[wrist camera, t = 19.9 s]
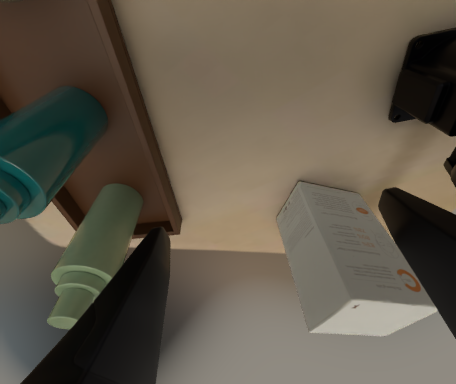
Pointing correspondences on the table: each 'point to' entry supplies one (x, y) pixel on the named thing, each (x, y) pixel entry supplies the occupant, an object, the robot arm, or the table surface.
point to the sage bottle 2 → (94, 252)
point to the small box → (347, 265)
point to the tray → (94, 85)
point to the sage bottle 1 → (9, 1)
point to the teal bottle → (45, 148)
